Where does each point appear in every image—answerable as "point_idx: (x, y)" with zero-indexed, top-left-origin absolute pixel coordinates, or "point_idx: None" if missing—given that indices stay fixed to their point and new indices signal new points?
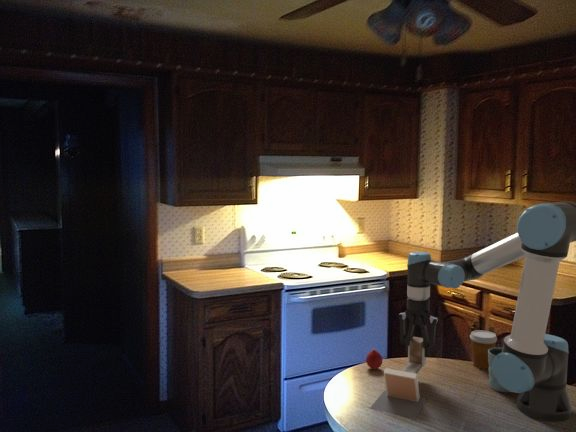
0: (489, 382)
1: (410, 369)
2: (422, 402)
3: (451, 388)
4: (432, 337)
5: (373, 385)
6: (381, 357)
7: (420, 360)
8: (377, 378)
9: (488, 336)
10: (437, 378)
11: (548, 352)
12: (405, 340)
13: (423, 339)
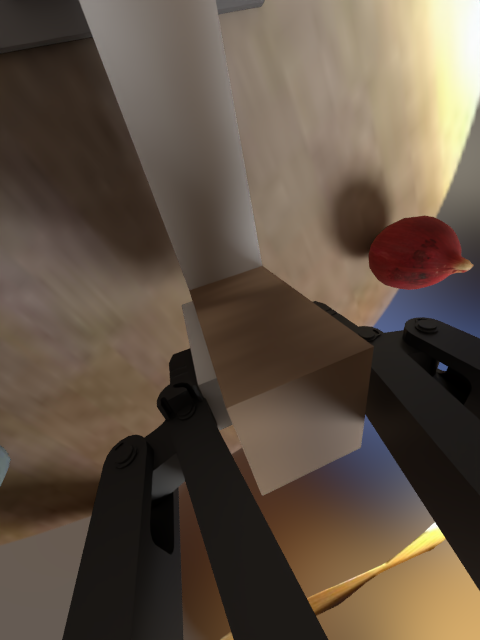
0: None
1: (181, 131)
2: None
3: (55, 318)
4: (88, 624)
5: (337, 72)
6: (396, 273)
7: (195, 299)
8: (344, 178)
9: None
10: (167, 349)
11: None
12: (401, 353)
13: (235, 476)
